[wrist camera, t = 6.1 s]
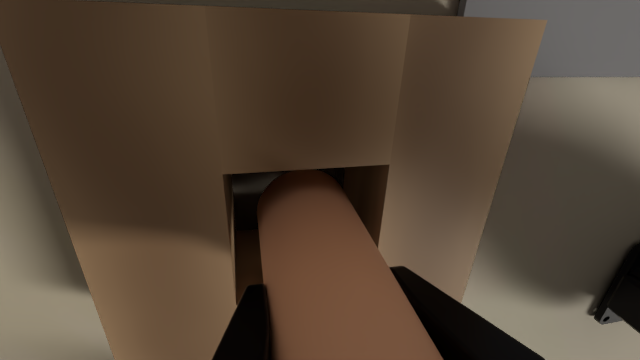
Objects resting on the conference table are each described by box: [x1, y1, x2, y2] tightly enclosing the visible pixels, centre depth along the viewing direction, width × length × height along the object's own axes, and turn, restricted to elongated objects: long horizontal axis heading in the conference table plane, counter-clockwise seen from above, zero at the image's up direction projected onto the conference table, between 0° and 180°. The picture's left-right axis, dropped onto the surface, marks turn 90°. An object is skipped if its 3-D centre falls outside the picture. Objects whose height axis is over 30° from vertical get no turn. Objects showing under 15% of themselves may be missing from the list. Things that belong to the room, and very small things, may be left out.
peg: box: [257, 169, 443, 360], centre depth 7 cm, size 3×3×10 cm
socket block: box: [0, 0, 547, 360], centre depth 12 cm, size 12×12×4 cm
